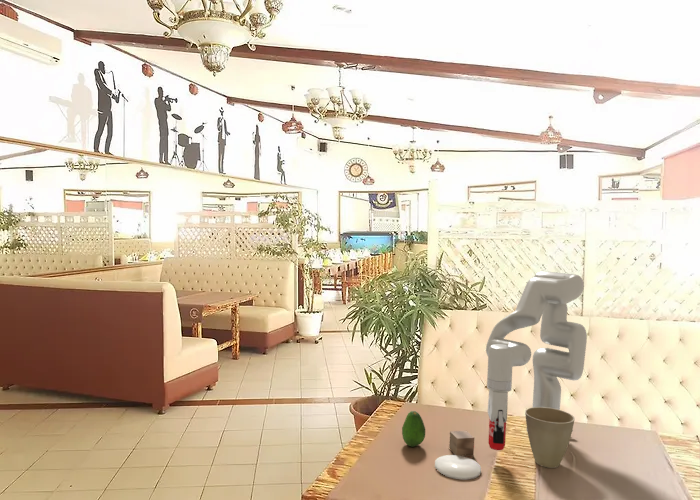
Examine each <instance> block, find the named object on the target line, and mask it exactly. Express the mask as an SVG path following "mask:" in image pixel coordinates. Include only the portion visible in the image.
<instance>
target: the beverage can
mask: <svg viewBox="0 0 700 500" xmlns="http://www.w3.org/2000/svg"><path fill="white" fill-rule="evenodd" d="M488 418H489V417H488ZM496 421H498V419H496ZM488 422H489V423H488V424H489V425H488V441H487V443H488V445H489V448H490V449H491V450H494V451H503V450H504V448H505V447H506V436H507V435H506V434H507V433H506V432H507V421H506V422H505V423H504V443H503V444H498V443H493V430H494V421H493V422H491V421H490V418H489V419H488ZM497 425H498V423H497Z"/></svg>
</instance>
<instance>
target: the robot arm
mask: <svg viewBox="0 0 700 500" xmlns="http://www.w3.org/2000/svg"><path fill="white" fill-rule="evenodd" d="M584 287H585V285H584V279H583V278H582V276H580V275H579V274H575V273H565V272H558V271H557V272H556V271H538V272H536V273H535V275H534V276H533V277H532V278H530V279H528V280H527V282H526V284H525V286H524V289H523V291H522V294H521V296H520V299H519V301H518V303H517V305H516V308H515V310H514V311H513V312H511V313H509V314H508V315H506V316H505V317H503V318H502V319H500V320H499V321H498V322H497V323H496V324H495V325H494V326H493V328H492V331H491V332H490V334H489V337H488V339H487V342H486V344H485V345H486V347H485V353H486V355H487V375H486V376H487V379H486V381H487V382H486V387H487V390H488V401H487V415H488V418H490V421H491V422H493V421H494V430H493V443H498V444H503V443H504V423H505V422H506V423H507V419H508V403H509V402H508V399H509V397H508V395H509V394H508V393H509V392H511V391H512V384H513V383H512V381H513V368H514V367H522V366H524V365H527V364H528V363H529V362H530V360H531V357H532V367H533V392H532V393H533V394H532V407H531V408H533V407H547V408H554V409H558V410H561V400H562V399H561V398H562V386H561V382H560V380H559V378H560V379H565V380H569V381H579V380H580V379H581V378H582V376H583V372H584V370H585V369H584V366H585V360H586V359H585V358H586V350H587V349H586V348H587V344H588V343H587V339H588V338H587V337H588V333H587V329H586V328H585V327H584V325H583V324H581V323H578V322H572V321H568V304H569V303H570V302H572V301H575V300H576V299H579V297H580V296H581V295H582V294H583V292H584ZM540 320H541V323H540V329H539V330H540V332H539V334H540V335H539V336H540V341H542V343H544V344H547V345H551V346H555V347H559V348H565V349H568V351H564V350H559V349H554V348H549V347H541V348H540V347H539V348H537V349H536V350H534V352H533V353H532V351H531V350H532V349H531V348H530V346H528V345H527V344H526V343H524V342H521V341H514V340H513V339H512V340H510V339H506V336H507V335H509V334H511V332H512V333H513V332H515V331H516V330H520V329H525V328H529V327H532V326H535V325H537V324H539V322H540ZM496 419H498V421H496ZM497 423H498V425H497ZM573 429H574V428H573ZM573 429H572V432H573V431H574V430H573ZM526 432H527V433H528V431H527V430H526Z"/></svg>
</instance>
